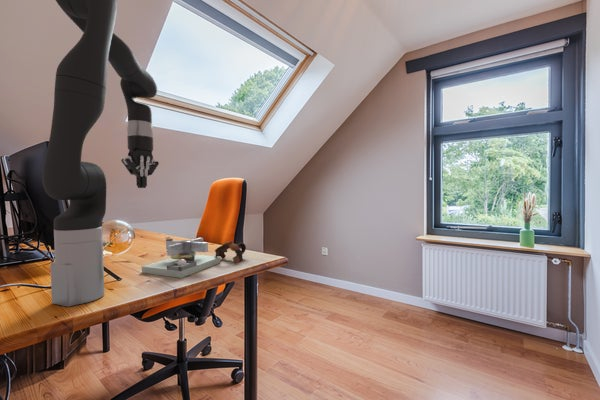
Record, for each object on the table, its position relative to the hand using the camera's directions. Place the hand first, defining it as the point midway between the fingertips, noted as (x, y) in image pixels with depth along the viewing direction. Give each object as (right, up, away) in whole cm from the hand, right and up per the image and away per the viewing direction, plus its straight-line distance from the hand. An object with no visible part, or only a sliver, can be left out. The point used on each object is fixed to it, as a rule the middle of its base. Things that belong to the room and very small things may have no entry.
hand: (141, 187), depth 96 cm
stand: (+14, -27, +1) cm, 30 cm away
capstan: (+15, -25, +1) cm, 29 cm away
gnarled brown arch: (+28, -27, +10) cm, 40 cm away
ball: (+16, -24, -7) cm, 30 cm away
